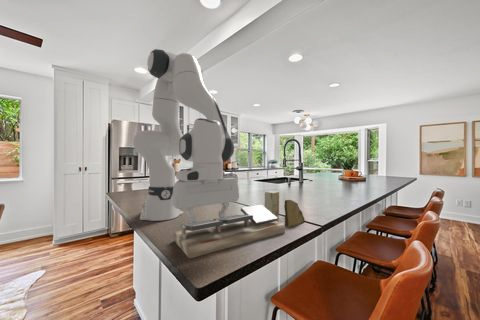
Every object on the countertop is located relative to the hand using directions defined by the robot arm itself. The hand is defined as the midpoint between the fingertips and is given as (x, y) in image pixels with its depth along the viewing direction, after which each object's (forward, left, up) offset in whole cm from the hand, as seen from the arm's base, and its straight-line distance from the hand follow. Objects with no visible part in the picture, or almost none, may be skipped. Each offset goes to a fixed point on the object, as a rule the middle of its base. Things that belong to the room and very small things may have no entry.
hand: (208, 219), depth 60 cm
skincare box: (-12, +37, -9) cm, 40 cm away
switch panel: (-4, +11, -9) cm, 15 cm away
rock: (-2, +41, -9) cm, 42 cm away
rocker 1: (-4, 0, -3) cm, 5 cm away
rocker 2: (-4, +23, -3) cm, 23 cm away
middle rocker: (-4, +11, -3) cm, 13 cm away
